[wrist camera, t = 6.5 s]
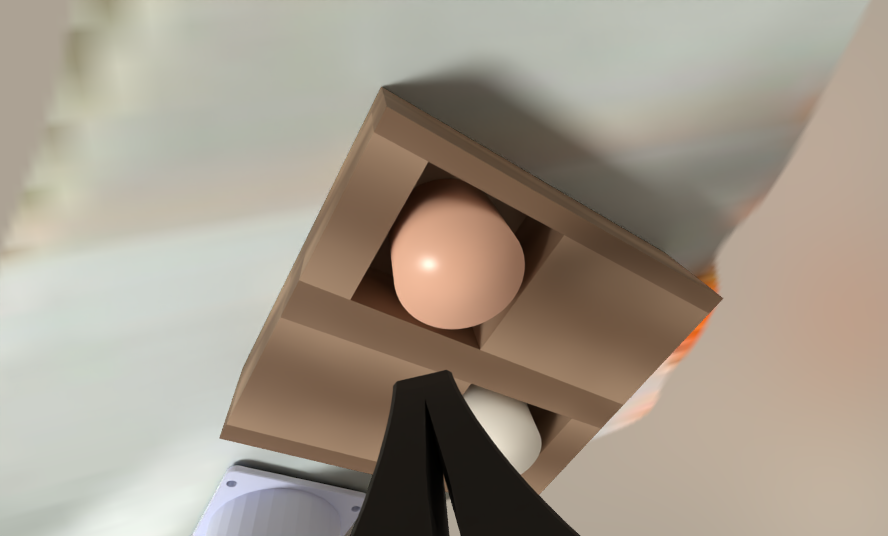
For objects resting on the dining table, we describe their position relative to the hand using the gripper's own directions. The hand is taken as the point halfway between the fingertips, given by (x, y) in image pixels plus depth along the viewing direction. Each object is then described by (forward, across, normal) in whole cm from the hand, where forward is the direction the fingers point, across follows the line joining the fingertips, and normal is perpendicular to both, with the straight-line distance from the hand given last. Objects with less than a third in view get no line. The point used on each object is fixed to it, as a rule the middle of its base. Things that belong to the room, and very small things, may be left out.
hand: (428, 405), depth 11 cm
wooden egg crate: (+9, -2, +4) cm, 10 cm away
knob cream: (+8, -2, +9) cm, 12 cm away
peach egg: (+8, -2, 0) cm, 8 cm away
